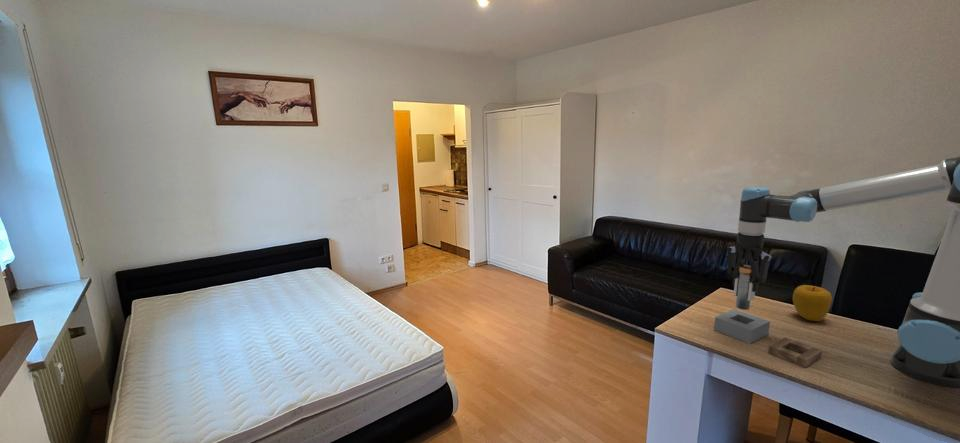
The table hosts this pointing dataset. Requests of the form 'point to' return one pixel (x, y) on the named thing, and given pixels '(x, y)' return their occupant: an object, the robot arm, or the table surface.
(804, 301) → the apple
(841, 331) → the table surface
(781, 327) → the table surface
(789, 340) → the mount
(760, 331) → the socket
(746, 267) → the pin
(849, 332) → the table surface
